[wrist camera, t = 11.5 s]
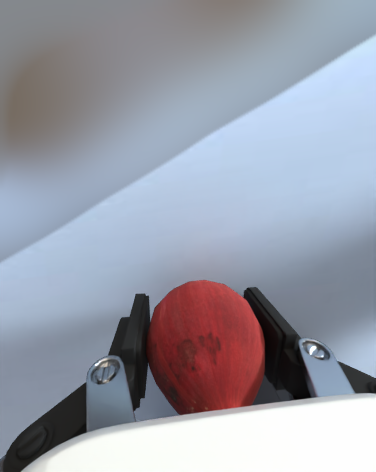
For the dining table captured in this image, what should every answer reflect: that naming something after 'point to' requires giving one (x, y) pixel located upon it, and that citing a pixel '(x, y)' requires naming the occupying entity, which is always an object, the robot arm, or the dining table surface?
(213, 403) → the onion
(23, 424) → the dining table surface
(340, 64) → the dining table surface
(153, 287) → the dining table surface
